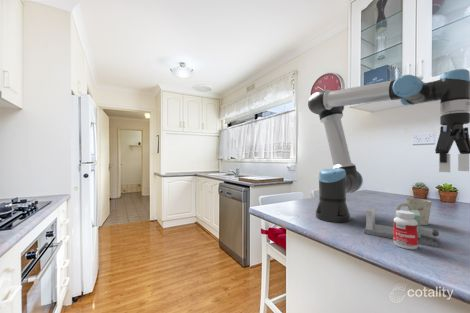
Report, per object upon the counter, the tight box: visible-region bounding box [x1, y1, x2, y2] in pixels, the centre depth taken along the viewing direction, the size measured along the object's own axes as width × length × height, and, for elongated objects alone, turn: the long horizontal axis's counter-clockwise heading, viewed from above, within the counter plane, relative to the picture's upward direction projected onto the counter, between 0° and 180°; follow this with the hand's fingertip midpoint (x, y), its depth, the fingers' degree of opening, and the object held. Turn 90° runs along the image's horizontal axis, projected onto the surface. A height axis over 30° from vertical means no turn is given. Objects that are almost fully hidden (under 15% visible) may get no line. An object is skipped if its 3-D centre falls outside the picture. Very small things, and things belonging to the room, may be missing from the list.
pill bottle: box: [392, 209, 419, 250], centre depth 68 cm, size 6×6×11 cm
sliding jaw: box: [411, 210, 440, 238], centre depth 73 cm, size 7×9×8 cm
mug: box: [395, 197, 432, 226], centre depth 92 cm, size 8×13×10 cm, turn 78°
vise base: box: [364, 206, 438, 248], centre depth 78 cm, size 20×10×8 cm, turn 52°
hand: (454, 171), depth 77 cm, fingers open, 13 cm apart
